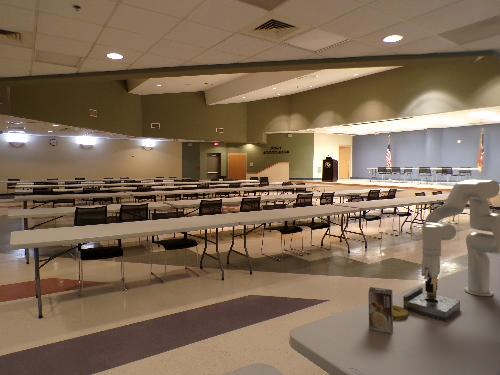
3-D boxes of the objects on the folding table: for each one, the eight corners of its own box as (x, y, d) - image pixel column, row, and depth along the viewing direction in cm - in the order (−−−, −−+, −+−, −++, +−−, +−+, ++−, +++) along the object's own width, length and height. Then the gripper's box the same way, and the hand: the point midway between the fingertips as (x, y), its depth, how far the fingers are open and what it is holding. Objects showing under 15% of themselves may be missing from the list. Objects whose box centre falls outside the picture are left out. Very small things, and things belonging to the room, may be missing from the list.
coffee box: (393, 327, 138) (393, 289, 138) (392, 334, 133) (392, 294, 132) (370, 323, 143) (370, 286, 142) (368, 329, 137) (368, 291, 136)
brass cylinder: (428, 295, 157) (428, 274, 156) (437, 297, 154) (437, 276, 153) (425, 297, 154) (425, 275, 154) (434, 299, 151) (434, 277, 151)
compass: (388, 307, 159) (388, 302, 159) (413, 315, 150) (413, 310, 150) (374, 314, 152) (374, 309, 152) (399, 323, 143) (398, 318, 142)
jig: (419, 299, 167) (419, 286, 167) (459, 310, 154) (460, 296, 153) (403, 309, 155) (403, 296, 155) (445, 322, 142) (445, 307, 141)
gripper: (430, 247, 162) (430, 284, 162) (415, 253, 151) (415, 293, 151) (447, 250, 156) (446, 288, 157) (433, 256, 145) (432, 297, 146)
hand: (431, 290), depth 154 cm, fingers closed on brass cylinder, 4 cm apart
